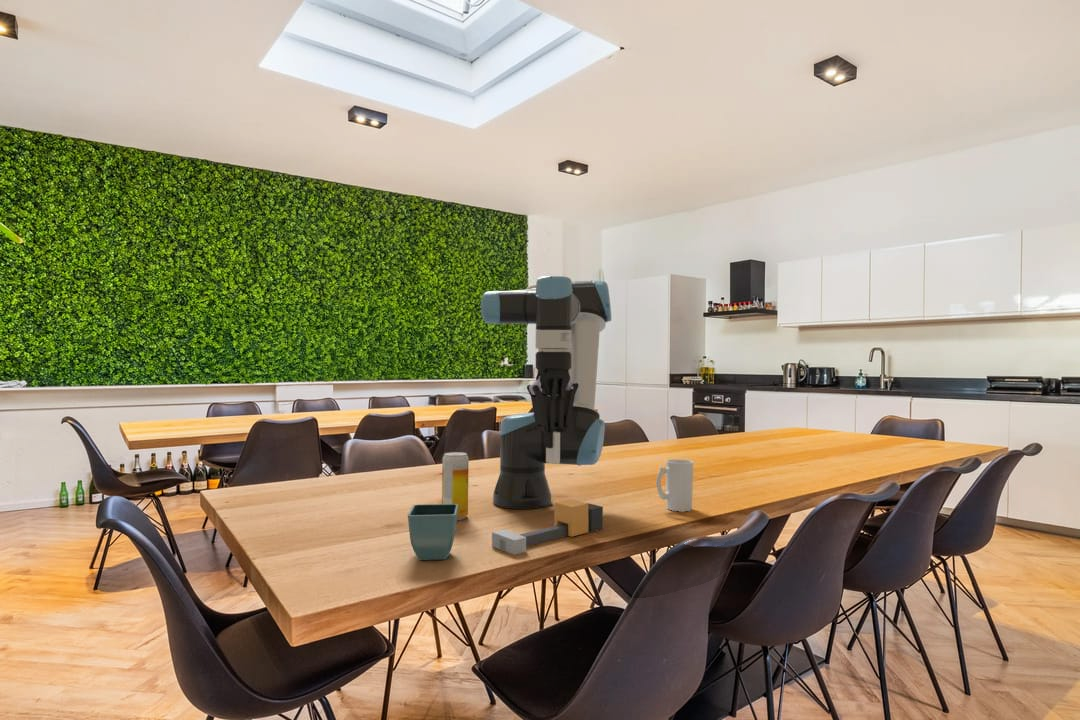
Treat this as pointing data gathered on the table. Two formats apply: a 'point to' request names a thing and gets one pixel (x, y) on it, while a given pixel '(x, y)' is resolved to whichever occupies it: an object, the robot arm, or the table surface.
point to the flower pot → (432, 530)
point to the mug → (677, 484)
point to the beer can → (455, 481)
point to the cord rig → (542, 533)
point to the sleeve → (572, 516)
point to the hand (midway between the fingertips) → (552, 462)
